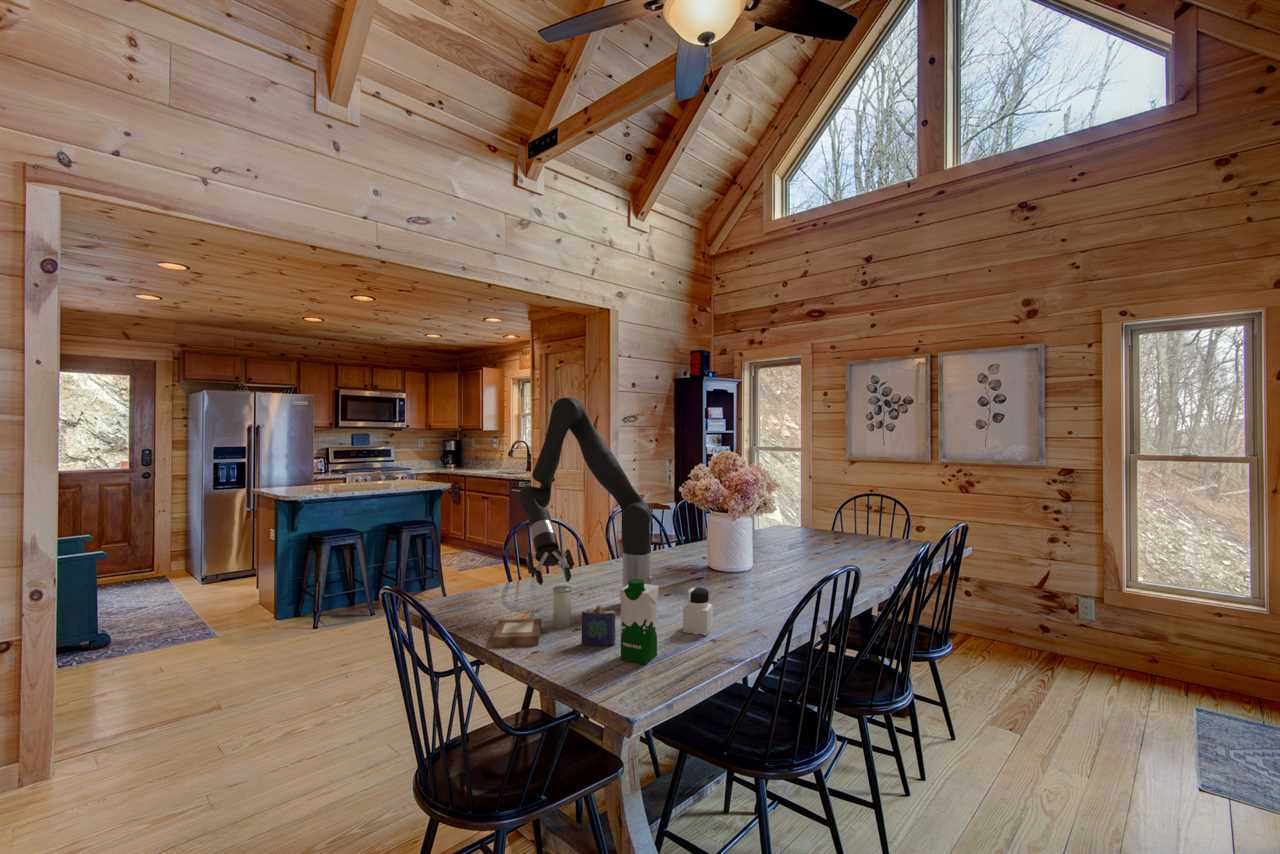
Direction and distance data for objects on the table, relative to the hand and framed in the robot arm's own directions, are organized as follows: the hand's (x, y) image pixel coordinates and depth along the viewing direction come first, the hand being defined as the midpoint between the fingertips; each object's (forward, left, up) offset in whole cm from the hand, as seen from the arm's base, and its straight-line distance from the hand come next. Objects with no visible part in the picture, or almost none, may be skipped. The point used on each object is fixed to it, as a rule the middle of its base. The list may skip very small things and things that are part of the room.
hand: (555, 582), depth 180 cm
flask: (-12, +22, -11) cm, 28 cm away
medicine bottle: (-41, +14, -11) cm, 45 cm away
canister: (-2, +6, -11) cm, 13 cm away
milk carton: (-22, +32, -11) cm, 41 cm away
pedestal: (+10, +14, -11) cm, 20 cm away
